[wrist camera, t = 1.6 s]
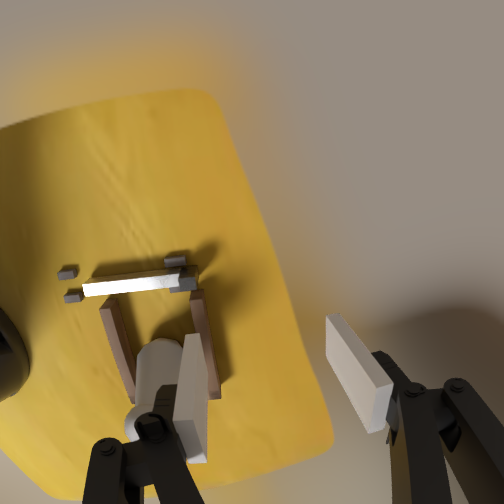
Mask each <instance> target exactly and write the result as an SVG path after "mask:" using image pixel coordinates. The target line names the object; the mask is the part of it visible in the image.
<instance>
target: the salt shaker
mask: <svg viewBox="0 0 504 504" xmlns="http://www.w3.org/2000/svg"><path fill="white" fill-rule="evenodd" d="M182 353H183V348H182V347H181V346H180V344H179V343H178V342H177V340H172V339H166V338H158V339H156V340H154V341H152V342H150V343H148V344H146V345H144V347H143V348H142V350H141V351H140V352H139V354H138V355H137V369H136V392H135V407H133V408H132V409H131V410H130V412H129V413H128V414H127V416H126V419H125V434H126V435H127V437H128V438H129V439H130V441H131V442H133V441H136V440H138V439H140V438H139V436H138V434H137V432H136V430H135V428H134V422H135V420H136V419H137V418H138V417H139V416H140V415H141V414H144V413H146V412H152V410H153V407H154V406H153V405H154V401H155V396H156V392H157V391H158V389H159V388H160V387H161V386H162V385H169V384H178V379H179V372H180V366H181V360H182Z"/></svg>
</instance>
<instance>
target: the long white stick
mask: <svg viewBox="0 0 504 504" xmlns="http://www.w3.org/2000/svg"><path fill="white" fill-rule="evenodd" d="M198 280H199V273H198V267H197V265H194V266H186V267H177V268H169V269H161V270H153V271H144V272H136V273H127V274H119V275H111V276H102V277H93V278H89V279H88V280H87V281H86V282H85V283H84V284H83V285H82V286H83V289H84V293H85V296H92V295H102V294H112V293H122V292H132V291H141V290H150V289H159V288H168V287H177V286H179V288H180V292H182V291H190V290H197V286H198Z"/></svg>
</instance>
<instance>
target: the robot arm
mask: <svg viewBox="0 0 504 504" xmlns="http://www.w3.org/2000/svg"><path fill="white" fill-rule="evenodd" d="M326 357H327V359H328V361H329V363H330V364H331V366H332V368H333V370H334V372H335V373H336V375H337V377H338V379H339V381H340V383H341V384H342V386H343V388H344V389H345V392H346V394H347V395H348V397H349V399H350V401H351V403H352V404H353V406H354V408H355V410H356V412H357V413H358V416H359V417H360V419H361V421H362V423H363V425H364V427H365V428H366V430H367V432H368V433H373V432H375V431H379V430H382V429H384V427H385V423H386V421H387V422H388V423H389V425H390V429H389V433H388V437H387V440H386V444H388V443H389V444H390V457H391V474H392V504H452V498H451V493H450V486H449V480H448V475H447V469H446V464H445V459H444V456H445V458H446V460H447V461H448V463H449V465H450V467H451V469H452V471H453V473H454V475H455V477H456V479H457V481H458V482H459V484H460V486H461V488H462V490H463V492H464V494H465V496H466V498H467V500H468V502H469V504H504V427H503V425H502V424H501V423H500V421H499V420H498V419H497V417H496V416H495V415H494V414H493V412H492V411H491V410H490V408H489V407H488V406H487V405H486V403H485V402H484V401H483V400H482V398H481V397H480V396H479V395H478V393H477V392H476V391H475V390H474V388H473V387H472V386H471V385H470V384H469V383H468V382H467V381H466V380H464V379H461V378H451V379H449V380H447V381H446V382H445V383H444V387H443V388H440V389H429V390H428V389H426V387H425V386H423V385H422V384H419V383H415V382H411V381H410V380H409V379H408V377H407V376H406V375H405V374H404V373H403V371H402V370H401V369H400V368H399V367H398V366H397V364H396V363H395V362H394V361H393V360H392V358H391V357H390V356H389V355H388V354H386V353H384V352H382V351H377V352H373V353H370V352H369V350H368V349H367V348H366V347H365V345H364V344H363V343H362V341H361V340H360V339H359V338H358V336H357V335H356V334H355V333H354V331H353V330H352V329H351V327H350V326H349V325H348V324H347V323H346V321H345V320H344V319H343V317H342V316H341V315H340V314H339V313H337V314H330V315H326ZM28 375H29V361H28V356H27V352H26V349H25V346H24V344H23V341H22V339H21V337H20V335H19V333H18V331H17V330H16V328H15V327H14V325H13V323H12V322H11V321H10V319H9V318H8V317H7V315H6V314H5V313H4V312H3V311H2V310H1V309H0V402H1V401H3V400H5V399H6V398H8V397H10V396H13V395H15V394H16V393H17V392H18V391H19V390H20V389H21V387H22V386H23V385H24V383H25V382H26V380H27V378H28ZM207 398H208V371H207V367H206V362H205V357H204V353H203V348H202V343H201V338H200V333H195V334H186V335H185V341H184V347H183V353H182V360H181V366H180V372H179V379H178V384H169V385H162V386H161V387H160V388H159V389H158V391H157V392H156V396H155V401H154V405H153V406H154V407H153V410H152V412H146V413H144V414H141V415H140V416H139V417H138V418H137V419H136V420H135V422H134V428H135V430H136V432H137V434H138V436H139V438H140V439H138V440H136V441H133V442H129V443H124V444H121V442H120V441H119V440H117V439H115V438H103V439H101V440H99V441H97V442H96V443H95V444H94V446H93V448H92V452H91V456H90V461H89V467H88V472H87V477H86V483H85V489H84V495H83V501H82V504H144V486H147V485H151V484H154V486H155V489H156V492H157V495H158V498H159V501H160V504H205V503H204V501H203V499H202V497H201V495H200V493H199V491H198V489H197V487H196V485H195V483H194V481H193V479H192V476H191V474H190V472H189V470H188V468H187V465H186V457H187V460H188V462H189V464H191V463H207Z"/></svg>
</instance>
